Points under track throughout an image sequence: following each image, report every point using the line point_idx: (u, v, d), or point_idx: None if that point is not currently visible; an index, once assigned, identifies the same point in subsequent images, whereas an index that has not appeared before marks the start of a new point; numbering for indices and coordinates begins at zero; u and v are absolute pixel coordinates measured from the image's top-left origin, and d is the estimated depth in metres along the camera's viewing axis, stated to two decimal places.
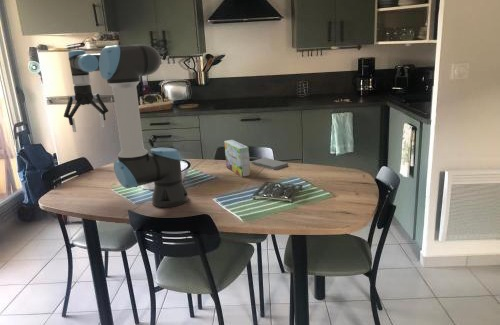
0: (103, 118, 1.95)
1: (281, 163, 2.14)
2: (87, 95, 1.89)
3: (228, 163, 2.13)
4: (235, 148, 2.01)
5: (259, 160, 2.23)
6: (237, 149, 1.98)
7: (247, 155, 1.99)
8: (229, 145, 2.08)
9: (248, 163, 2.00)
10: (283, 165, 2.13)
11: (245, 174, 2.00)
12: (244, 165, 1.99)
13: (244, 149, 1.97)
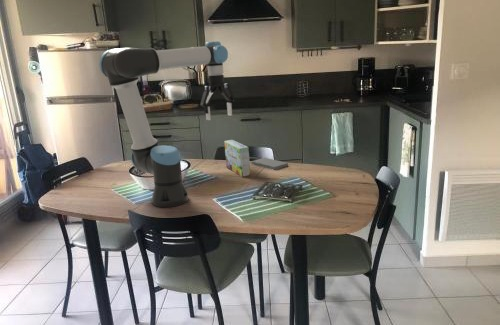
0: (231, 107, 2.03)
1: (281, 163, 2.14)
2: (220, 84, 1.97)
3: (228, 163, 2.13)
4: (235, 148, 2.01)
5: (259, 160, 2.23)
6: (237, 149, 1.98)
7: (247, 155, 1.99)
8: (229, 145, 2.08)
9: (248, 163, 2.00)
10: (283, 165, 2.13)
11: (245, 174, 2.00)
12: (244, 165, 1.99)
13: (244, 149, 1.97)
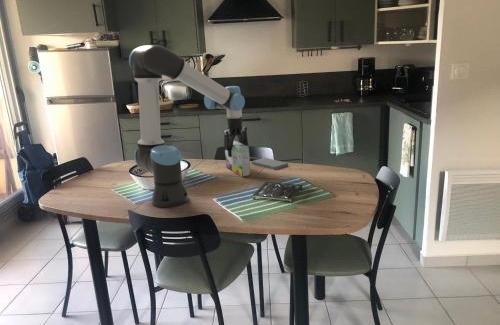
0: None
1: (281, 163, 2.14)
2: (239, 125, 2.04)
3: (228, 163, 2.13)
4: (235, 148, 2.01)
5: (259, 160, 2.23)
6: (237, 149, 1.98)
7: (247, 155, 1.99)
8: None
9: (248, 163, 2.00)
10: (283, 165, 2.13)
11: (245, 174, 2.00)
12: (244, 165, 1.99)
13: (244, 149, 1.97)
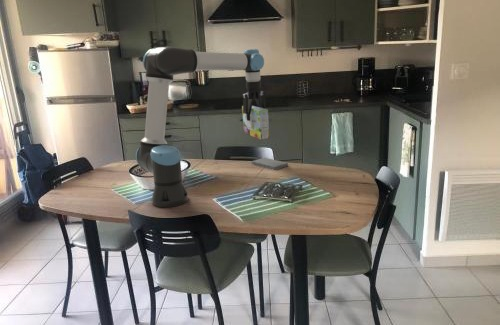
0: None
1: (281, 163, 2.14)
2: (257, 89, 2.05)
3: (246, 128, 2.14)
4: (254, 111, 2.02)
5: (259, 160, 2.23)
6: (256, 111, 2.00)
7: (266, 117, 2.00)
8: None
9: (267, 126, 2.01)
10: (283, 165, 2.13)
11: (264, 137, 2.02)
12: (263, 127, 2.00)
13: (264, 111, 1.98)
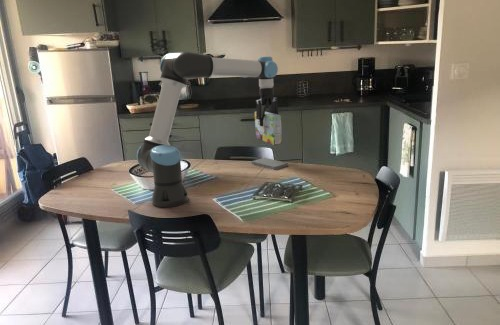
0: None
1: (281, 163, 2.14)
2: (270, 95, 2.09)
3: (259, 133, 2.18)
4: (267, 117, 2.06)
5: (259, 160, 2.23)
6: (270, 117, 2.04)
7: (279, 123, 2.04)
8: None
9: (280, 132, 2.05)
10: (283, 165, 2.13)
11: (277, 142, 2.06)
12: (276, 133, 2.04)
13: (277, 117, 2.02)
